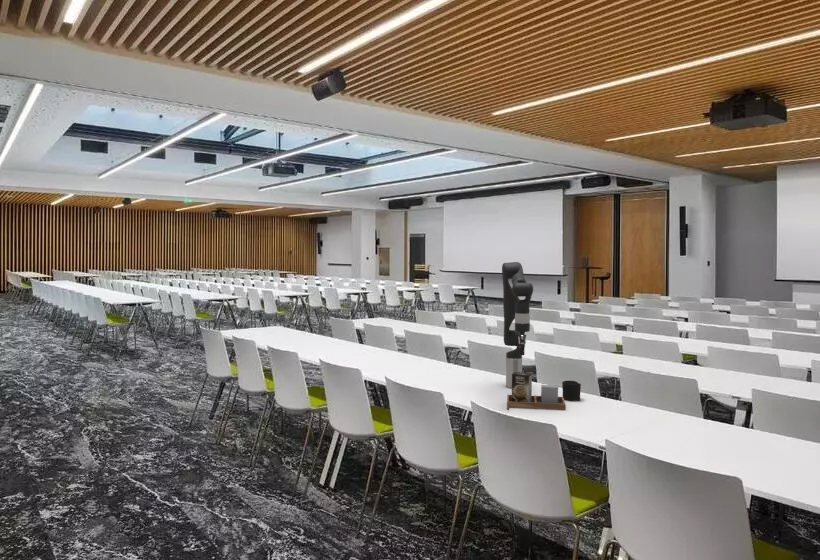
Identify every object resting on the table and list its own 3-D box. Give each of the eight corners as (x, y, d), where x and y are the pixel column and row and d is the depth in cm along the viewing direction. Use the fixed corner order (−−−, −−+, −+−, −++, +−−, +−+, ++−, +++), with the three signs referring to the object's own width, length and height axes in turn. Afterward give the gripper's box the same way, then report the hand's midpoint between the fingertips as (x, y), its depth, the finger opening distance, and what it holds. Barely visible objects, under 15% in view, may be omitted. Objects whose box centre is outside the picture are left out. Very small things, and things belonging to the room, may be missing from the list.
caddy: (507, 402, 306) (507, 394, 306) (563, 404, 301) (563, 396, 301) (507, 409, 292) (507, 401, 291) (565, 412, 286) (565, 404, 286)
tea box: (541, 404, 298) (541, 384, 298) (557, 404, 297) (557, 385, 296) (541, 406, 293) (541, 387, 293) (557, 407, 292) (558, 387, 291)
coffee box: (511, 405, 296) (511, 373, 296) (514, 402, 302) (514, 371, 301) (528, 407, 292) (529, 375, 292) (532, 404, 298) (532, 372, 297)
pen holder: (560, 402, 306) (560, 383, 305) (564, 398, 314) (564, 379, 313) (578, 404, 301) (578, 385, 301) (582, 400, 309) (582, 381, 309)
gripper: (514, 320, 303) (514, 351, 304) (514, 323, 289) (514, 356, 290) (529, 320, 301) (529, 351, 302) (530, 323, 287) (529, 356, 288)
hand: (522, 353), depth 296 cm, fingers open, 8 cm apart
